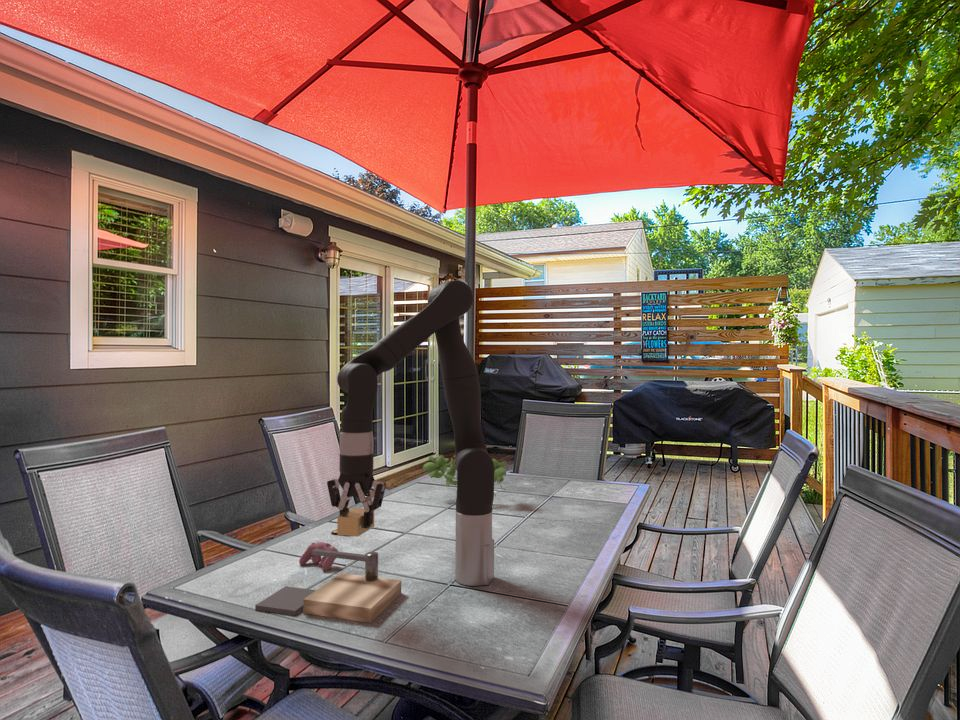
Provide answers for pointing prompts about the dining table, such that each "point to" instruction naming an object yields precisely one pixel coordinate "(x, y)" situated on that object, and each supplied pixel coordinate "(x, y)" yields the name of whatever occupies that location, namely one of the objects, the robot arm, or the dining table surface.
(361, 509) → the brown rectangular block
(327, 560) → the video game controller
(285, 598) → the mat
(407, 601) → the dining table surface
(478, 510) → the robot arm
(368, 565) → the clamp lever
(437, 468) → the plant cuttings
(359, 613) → the base plate
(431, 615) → the dining table surface
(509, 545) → the dining table surface
